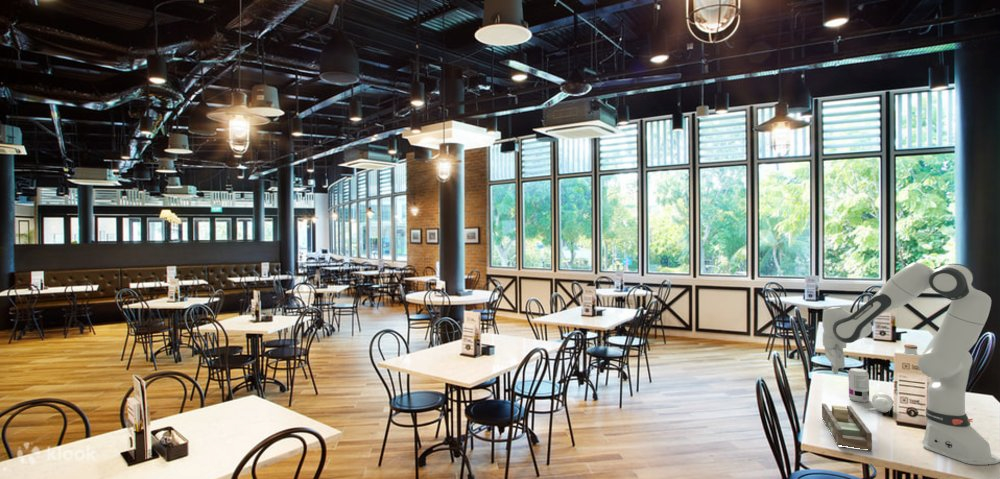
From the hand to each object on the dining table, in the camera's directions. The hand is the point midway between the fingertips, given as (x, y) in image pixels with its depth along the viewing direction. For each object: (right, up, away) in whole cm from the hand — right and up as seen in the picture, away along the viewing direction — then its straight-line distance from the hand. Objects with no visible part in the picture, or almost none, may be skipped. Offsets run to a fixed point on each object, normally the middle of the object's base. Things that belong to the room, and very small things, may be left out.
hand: (835, 373), depth 225 cm
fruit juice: (+50, -20, +18) cm, 57 cm away
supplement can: (+28, -20, +24) cm, 42 cm away
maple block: (-3, -17, -7) cm, 19 cm away
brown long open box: (-6, -22, -15) cm, 27 cm away
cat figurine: (+28, -20, +9) cm, 36 cm away
